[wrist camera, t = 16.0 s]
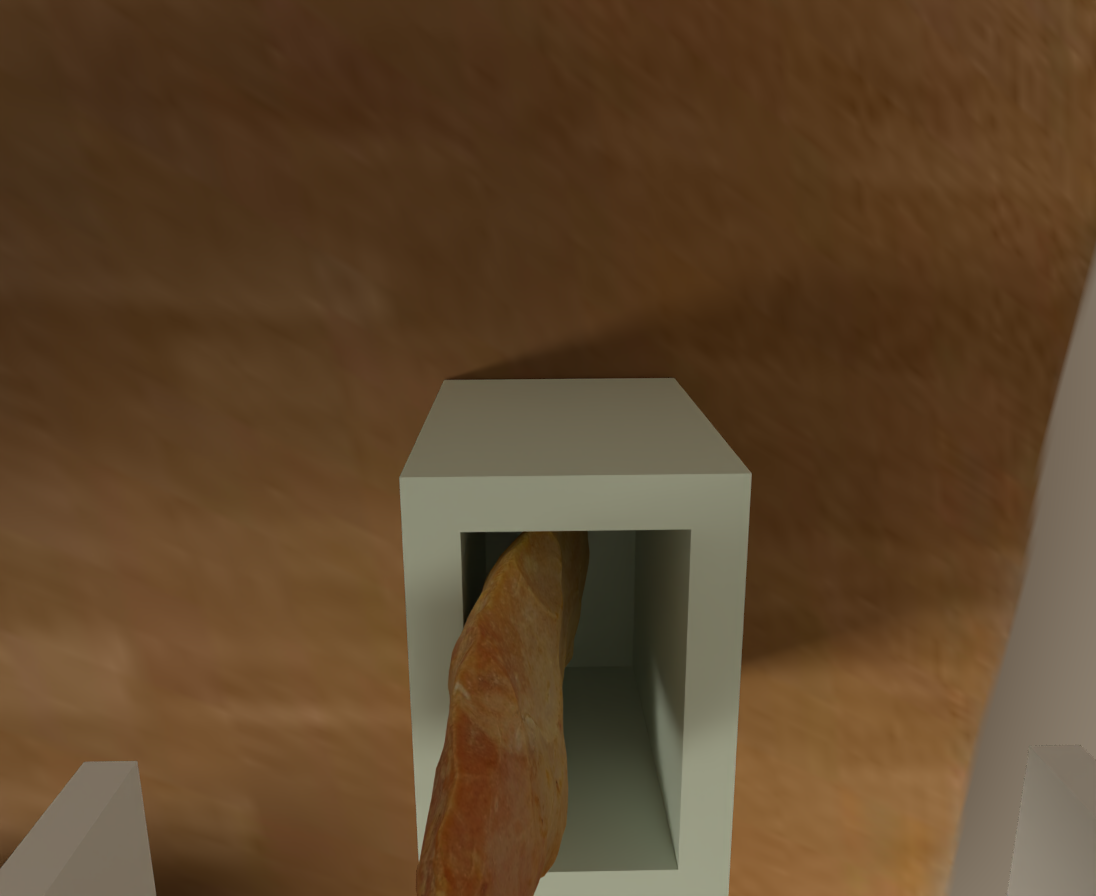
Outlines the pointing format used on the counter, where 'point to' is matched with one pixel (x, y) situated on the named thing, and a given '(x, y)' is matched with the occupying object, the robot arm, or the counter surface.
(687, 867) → the box
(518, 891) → the stone tool
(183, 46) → the counter surface
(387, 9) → the counter surface
